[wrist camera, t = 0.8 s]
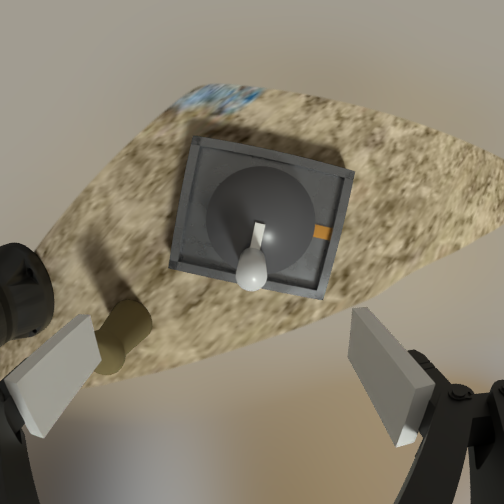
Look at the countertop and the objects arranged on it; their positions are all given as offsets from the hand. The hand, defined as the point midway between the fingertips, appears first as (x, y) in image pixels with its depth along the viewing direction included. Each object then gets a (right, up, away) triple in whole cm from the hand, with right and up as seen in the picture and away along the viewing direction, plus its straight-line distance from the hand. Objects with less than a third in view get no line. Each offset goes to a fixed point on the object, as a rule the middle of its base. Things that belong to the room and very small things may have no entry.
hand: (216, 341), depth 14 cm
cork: (-15, -5, +25) cm, 29 cm away
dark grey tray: (+3, +8, +22) cm, 23 cm away
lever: (+3, +8, +19) cm, 21 cm away
